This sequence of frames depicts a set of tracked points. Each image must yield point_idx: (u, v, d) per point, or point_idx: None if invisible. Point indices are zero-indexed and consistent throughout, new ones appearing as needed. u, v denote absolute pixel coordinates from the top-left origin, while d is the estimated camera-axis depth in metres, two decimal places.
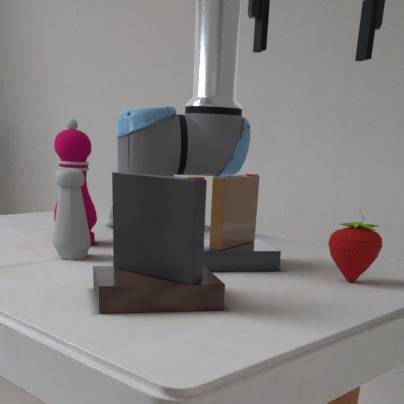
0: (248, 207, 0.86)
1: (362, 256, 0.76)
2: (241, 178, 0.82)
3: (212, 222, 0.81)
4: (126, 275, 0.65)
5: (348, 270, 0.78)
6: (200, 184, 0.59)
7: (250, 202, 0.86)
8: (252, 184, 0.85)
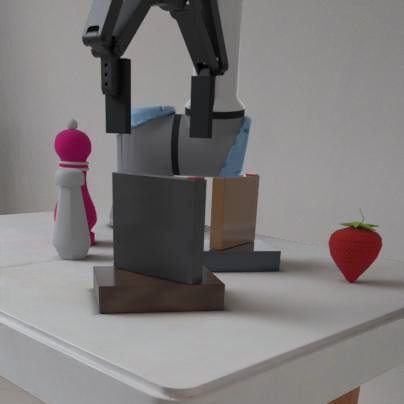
0: (248, 207, 0.86)
1: (362, 256, 0.76)
2: (241, 178, 0.82)
3: (212, 222, 0.81)
4: (126, 275, 0.65)
5: (348, 270, 0.78)
6: (200, 184, 0.59)
7: (250, 202, 0.86)
8: (252, 184, 0.85)
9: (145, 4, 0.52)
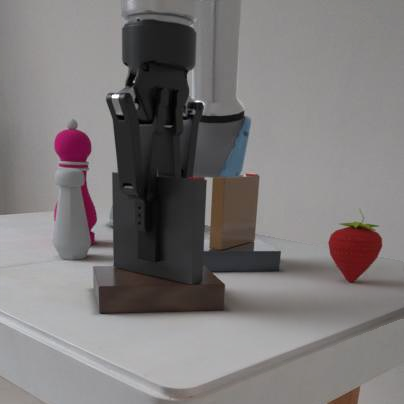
0: (248, 207, 0.86)
1: (362, 256, 0.76)
2: (241, 178, 0.82)
3: (212, 222, 0.81)
4: (126, 275, 0.65)
5: (348, 270, 0.78)
6: (200, 184, 0.59)
7: (250, 202, 0.86)
8: (252, 184, 0.85)
9: (155, 142, 0.59)
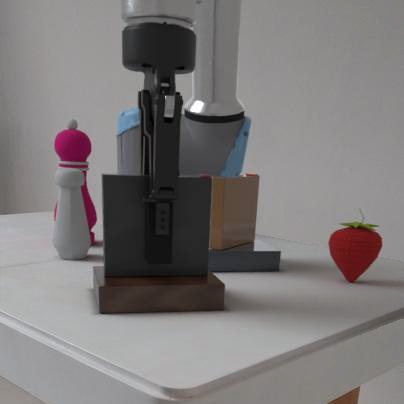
0: (248, 207, 0.86)
1: (362, 256, 0.76)
2: (241, 178, 0.82)
3: (212, 222, 0.81)
4: None
5: (348, 270, 0.78)
6: None
7: (250, 202, 0.86)
8: (252, 184, 0.85)
9: None
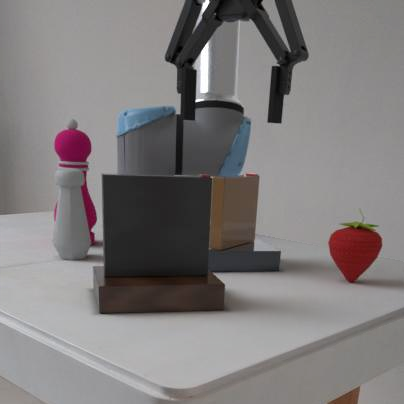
0: (248, 207, 0.86)
1: (362, 256, 0.76)
2: (241, 178, 0.82)
3: (212, 222, 0.81)
4: None
5: (348, 270, 0.78)
6: None
7: (250, 202, 0.86)
8: (252, 184, 0.85)
9: None
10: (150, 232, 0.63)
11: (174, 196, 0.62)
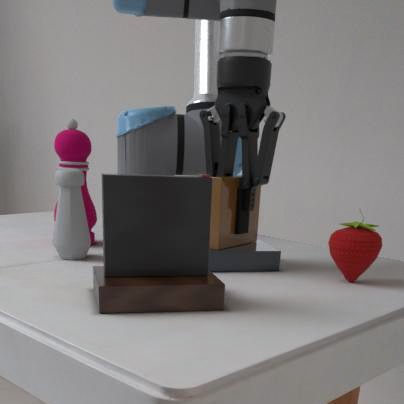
0: None
1: (362, 256, 0.76)
2: (240, 178, 0.82)
3: (210, 222, 0.81)
4: None
5: (348, 270, 0.78)
6: None
7: None
8: None
9: None
10: (150, 232, 0.63)
11: (174, 196, 0.62)
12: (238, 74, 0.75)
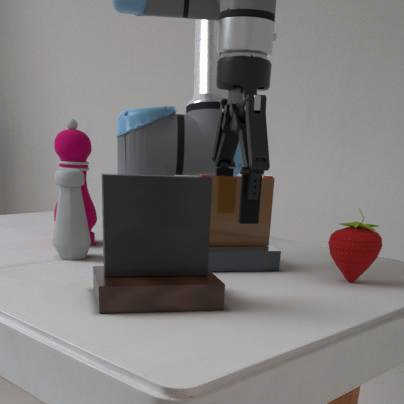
0: None
1: (362, 256, 0.76)
2: (235, 178, 0.82)
3: None
4: None
5: (348, 270, 0.78)
6: None
7: None
8: None
9: None
10: (150, 232, 0.63)
11: (174, 196, 0.62)
12: (221, 74, 0.76)
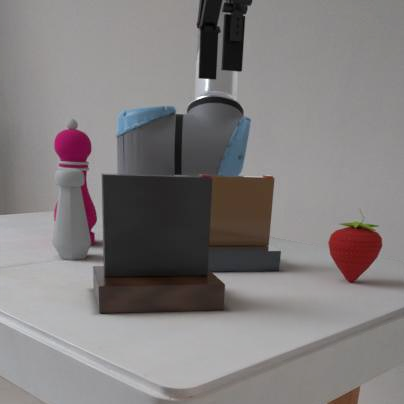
0: (252, 209, 0.84)
1: (362, 256, 0.76)
2: (235, 178, 0.82)
3: None
4: None
5: (348, 270, 0.78)
6: None
7: (255, 204, 0.84)
8: (260, 186, 0.83)
9: None
10: (150, 232, 0.63)
11: (174, 196, 0.62)
12: None
